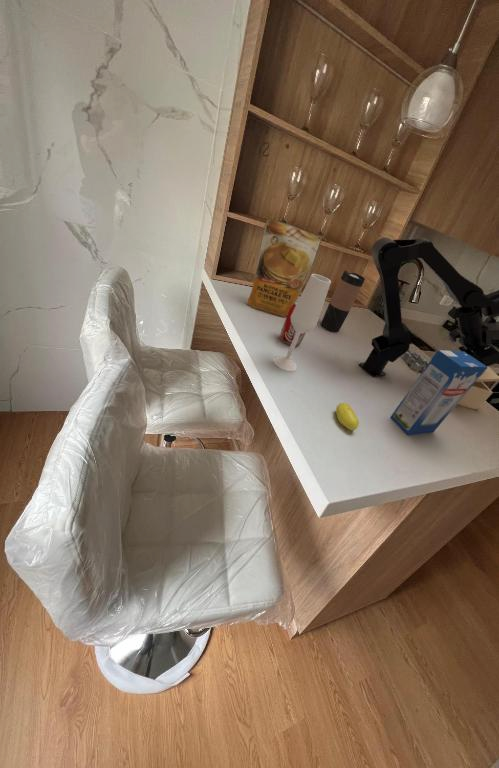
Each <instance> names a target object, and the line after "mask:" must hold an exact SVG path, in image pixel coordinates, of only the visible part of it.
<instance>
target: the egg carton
mask: <svg viewBox="0 0 499 768" xmlns="http://www.w3.org/2000/svg"><path fill="white" fill-rule="evenodd" d="M401 358H402V359H403V360H405V363H406V364H407V365H409V366H410V369H411V370H413V371H415V372H417V373H419V372H421V373H422V372H423V370H424V369H425V368H426V366H427V365H428V363H429V362H430V360H427V359H425V358H424V357H423V356H421V354H420V352H416V351H414V350H411V349H409V350H408V351H407V352H406V353H405V354H403V355H401Z"/></svg>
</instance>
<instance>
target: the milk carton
mask: <svg viewBox="0 0 499 768" xmlns="http://www.w3.org/2000/svg"><path fill="white" fill-rule="evenodd" d="M488 367H489V366H488ZM488 367H487V366H485V365H484V364H482V363H481V362H479V361H478V360H476V359H475V358H473V357H472V356H470V355H469V354H467V353H466V352H463V351H460V350H459V351H458V350H445V349H437V351H436V352H435V354H434V355H433V356H432V358H431V359H430V360H429V363H428V365H427V366H426V368H425V369H424V370H423V372H421V373H420V375H419V376H418V378H417V379H416V380H415V381H414V383H413V385H412V386H411V387H410V389H409V390H408V391H407V393H406V394H405V395H404V397H403V399H402V400H401V401H400V403H399V404H398V406H397V407H396V408H395V410H394V412H392V414H391V416H390V419H391V420H392V421H393V422H394V423H395V424H396V425H397V426H398V427H399V428H400V429H401V430H402V431H403V433H405V434H406V435H407V436H413V435H420V434H421V435H422V434H431V433H434V432H435V431H436V430H437V429H438V427H439V426H440V425H441V424H442V423H443V422H444V421H445V419H446V418H447V416H448V415H449V414H450V413H451V412H452V411H453V409H454V408H456V406H457V404H458V402H459V401H460V400H461V399H462V398H463V396H464V395H465V394H466V393H467V392H468V390H469V389H470V388H471V387H472V386H473V384H474V383H475V382H476V381H477V380H478V378H479V377H480V376H481V375H482V374H483V372H484V371H485V370H486V369H487V368H488Z"/></svg>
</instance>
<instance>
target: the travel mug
mask: <svg viewBox="0 0 499 768" xmlns="http://www.w3.org/2000/svg"><path fill="white" fill-rule="evenodd" d="M365 281H366V278H365V277H364V276H362V275H360V274H358V273H356V272H351V273H350V272H348V271H347V270H344V271H343V272H342V275H341V277H340V279H339V281H338V284H337V286H336V288H335V290H334V292H333V294H332V296H331V298H330V301H329V303H328V306H327V308H326V310H325V313H324V314H323V317H322V320H321V322H320V326H321V327H322V328H323V329H324V330H326V331H327V332H328V331H329V332H331V333H339V331H340V330H341V328H342V326H343V325H344V323H345V320H346V319H347V318H348V315H349V313H350V311H351V310H352V307H353V305H354V303H355V301H356V298H357V297H358V295H359V294H360V291H361V290H362V286H363V285H364V283H365Z"/></svg>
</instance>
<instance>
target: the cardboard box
mask: <svg viewBox="0 0 499 768" xmlns="http://www.w3.org/2000/svg"><path fill="white" fill-rule="evenodd" d="M493 393H494V392H493V391H492V390H491V389H490V388H489V387H488V386H487V385H486V383H484V382H475V383H474V384H473V386H472V387H471V388H470V389H469V390H468V392H467V393H466V394H465V395H464V396H463V398H462V399H461V400H460V401H459V402H458V404H457V405H458V406H462V407H465V408H468V409H471V410H474V411H475V410H476V411H478V410H479V409H480V407H481V406H482V405H483V404H484V403H485V402H486V401H487V400H488V398H490V396H491V395H492V394H493ZM457 405H456V406H457Z"/></svg>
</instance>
